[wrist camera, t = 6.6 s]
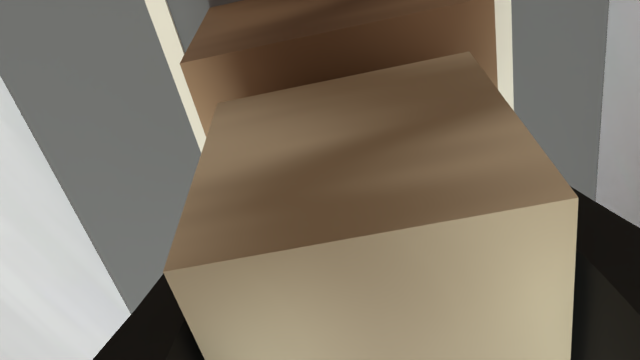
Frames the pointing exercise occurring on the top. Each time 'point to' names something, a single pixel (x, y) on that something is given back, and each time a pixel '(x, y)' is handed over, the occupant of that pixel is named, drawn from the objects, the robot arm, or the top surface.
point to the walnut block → (326, 43)
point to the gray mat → (184, 124)
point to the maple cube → (377, 225)
